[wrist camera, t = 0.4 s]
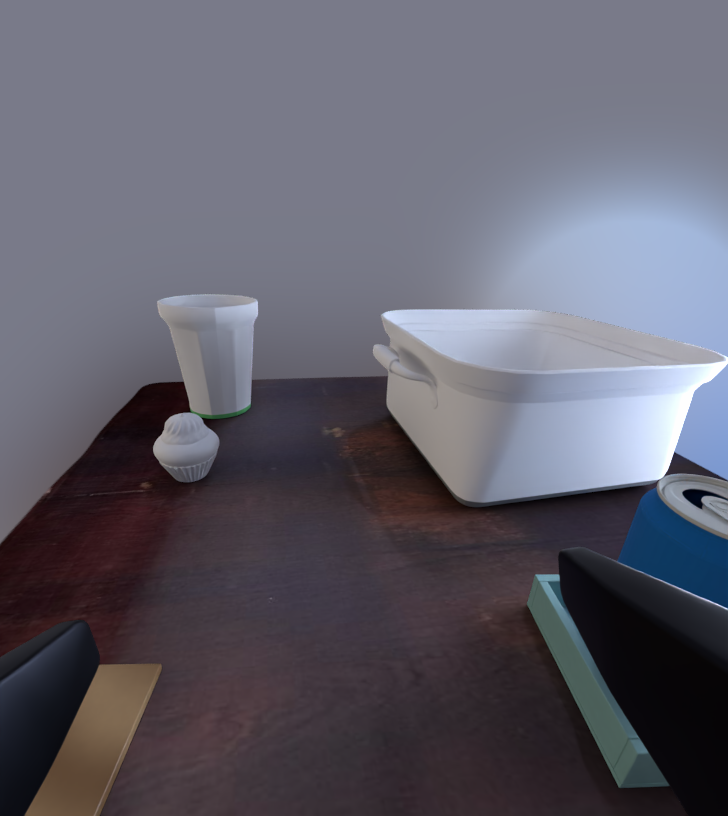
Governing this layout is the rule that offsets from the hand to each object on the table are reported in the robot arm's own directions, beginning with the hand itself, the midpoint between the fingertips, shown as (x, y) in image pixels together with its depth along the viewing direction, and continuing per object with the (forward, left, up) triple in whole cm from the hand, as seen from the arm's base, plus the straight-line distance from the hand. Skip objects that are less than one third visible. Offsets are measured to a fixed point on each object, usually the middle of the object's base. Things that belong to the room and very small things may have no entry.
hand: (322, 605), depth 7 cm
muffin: (+31, +15, -17) cm, 38 cm away
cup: (+49, +17, -17) cm, 54 cm away
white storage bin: (+38, -21, -17) cm, 46 cm away
